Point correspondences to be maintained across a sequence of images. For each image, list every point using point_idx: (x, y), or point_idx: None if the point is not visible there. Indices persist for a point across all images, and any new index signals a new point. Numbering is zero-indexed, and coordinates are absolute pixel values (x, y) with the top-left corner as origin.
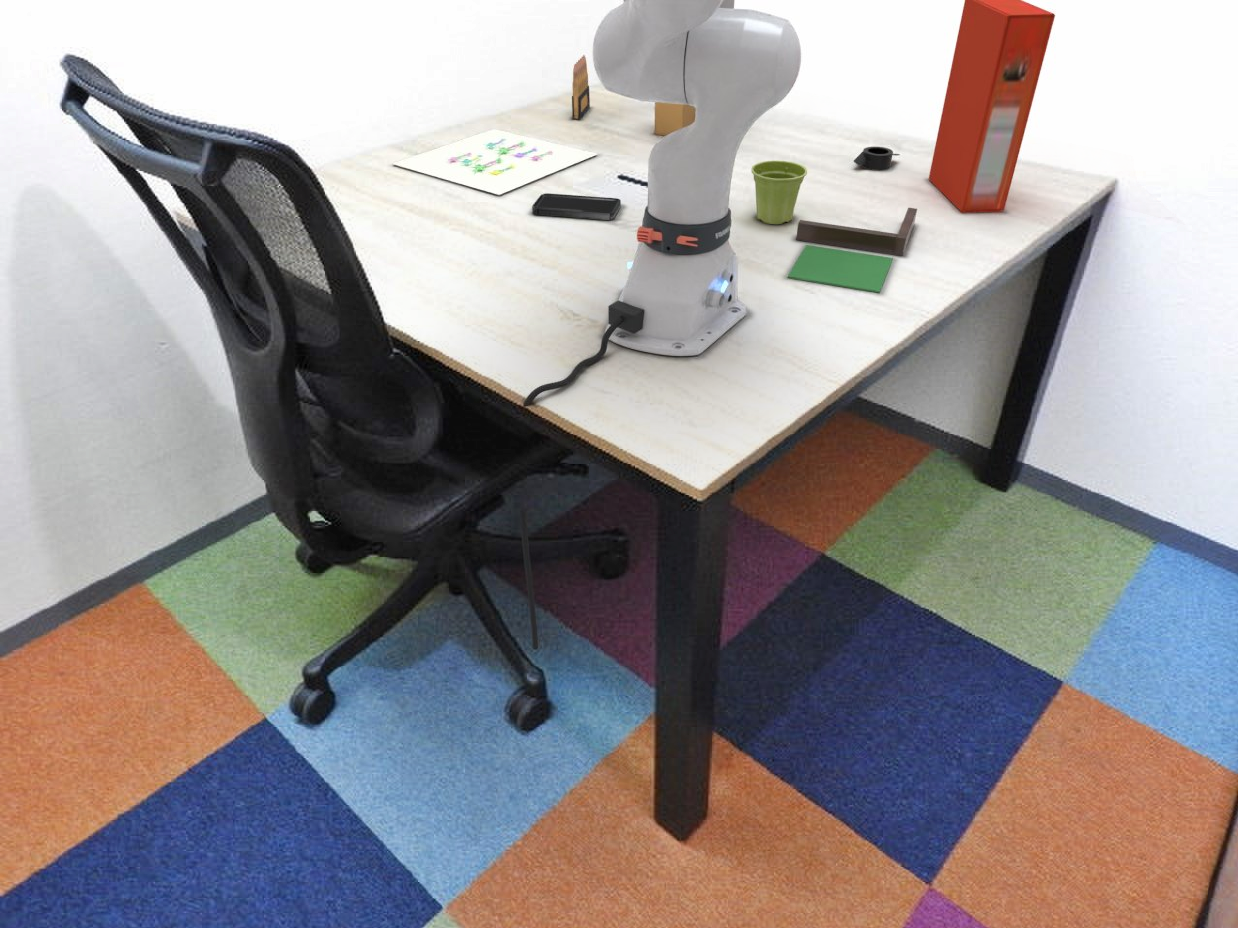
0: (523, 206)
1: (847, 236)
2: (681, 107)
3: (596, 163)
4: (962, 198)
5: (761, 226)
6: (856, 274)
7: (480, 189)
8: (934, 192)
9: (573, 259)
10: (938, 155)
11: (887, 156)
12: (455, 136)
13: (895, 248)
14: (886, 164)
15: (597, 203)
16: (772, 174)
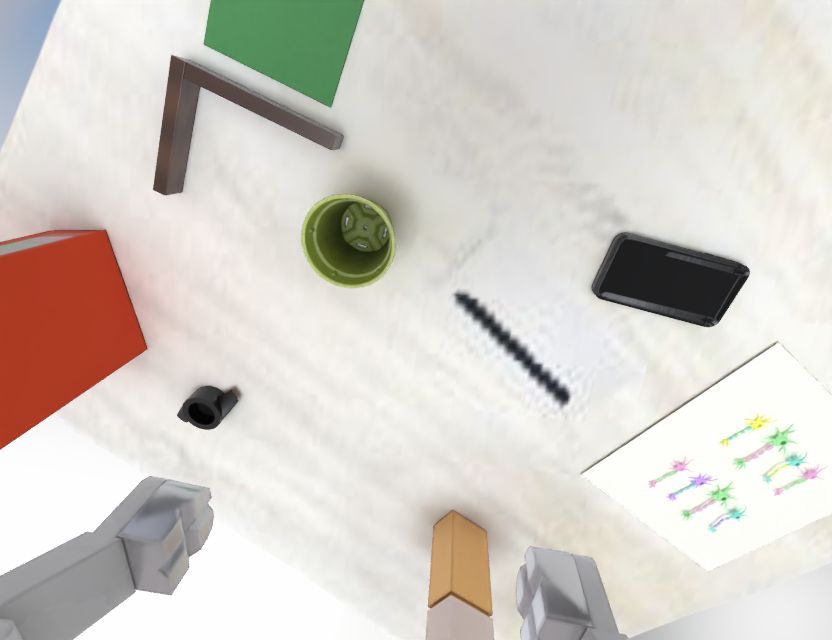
0: (747, 301)
1: (263, 98)
2: (455, 549)
3: (588, 448)
4: (93, 241)
5: (388, 196)
6: None
7: (802, 366)
8: (141, 307)
9: (730, 61)
10: (112, 353)
11: (190, 397)
12: (769, 559)
13: (195, 64)
14: (196, 391)
15: (634, 282)
16: (357, 274)
